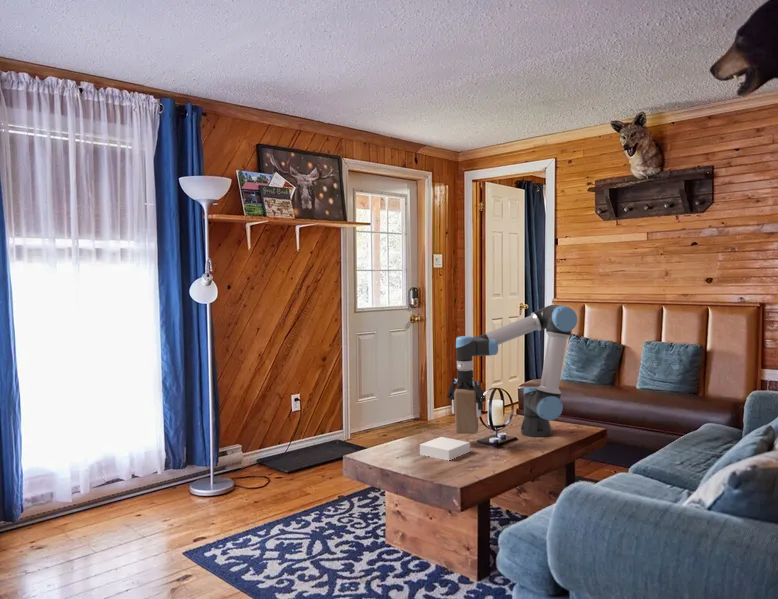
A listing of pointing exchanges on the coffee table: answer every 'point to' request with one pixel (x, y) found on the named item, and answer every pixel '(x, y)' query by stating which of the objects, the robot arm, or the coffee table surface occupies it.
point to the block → (465, 411)
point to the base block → (444, 448)
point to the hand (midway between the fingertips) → (466, 414)
